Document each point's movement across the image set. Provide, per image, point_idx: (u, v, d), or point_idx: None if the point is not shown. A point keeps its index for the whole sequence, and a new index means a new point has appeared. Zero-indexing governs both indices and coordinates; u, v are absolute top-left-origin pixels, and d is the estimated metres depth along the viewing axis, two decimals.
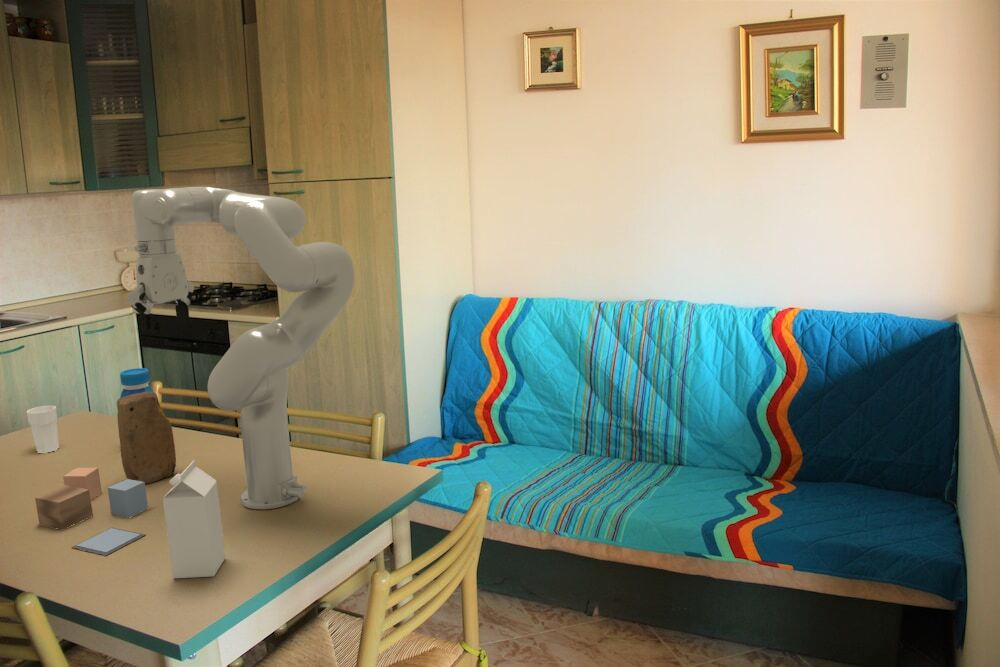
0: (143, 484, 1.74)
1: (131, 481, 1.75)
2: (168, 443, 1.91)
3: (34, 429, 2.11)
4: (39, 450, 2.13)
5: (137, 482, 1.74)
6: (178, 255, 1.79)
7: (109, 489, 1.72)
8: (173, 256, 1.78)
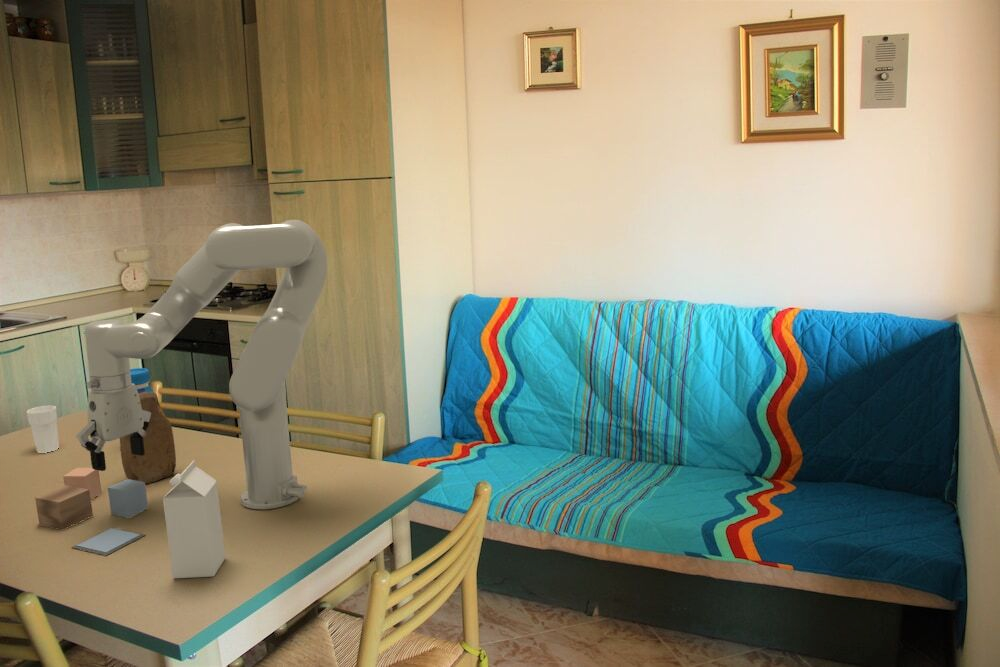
0: (143, 484, 1.74)
1: (131, 481, 1.75)
2: (168, 443, 1.91)
3: (34, 429, 2.11)
4: (39, 450, 2.13)
5: (137, 482, 1.74)
6: (133, 387, 1.71)
7: (109, 489, 1.72)
8: (128, 389, 1.69)
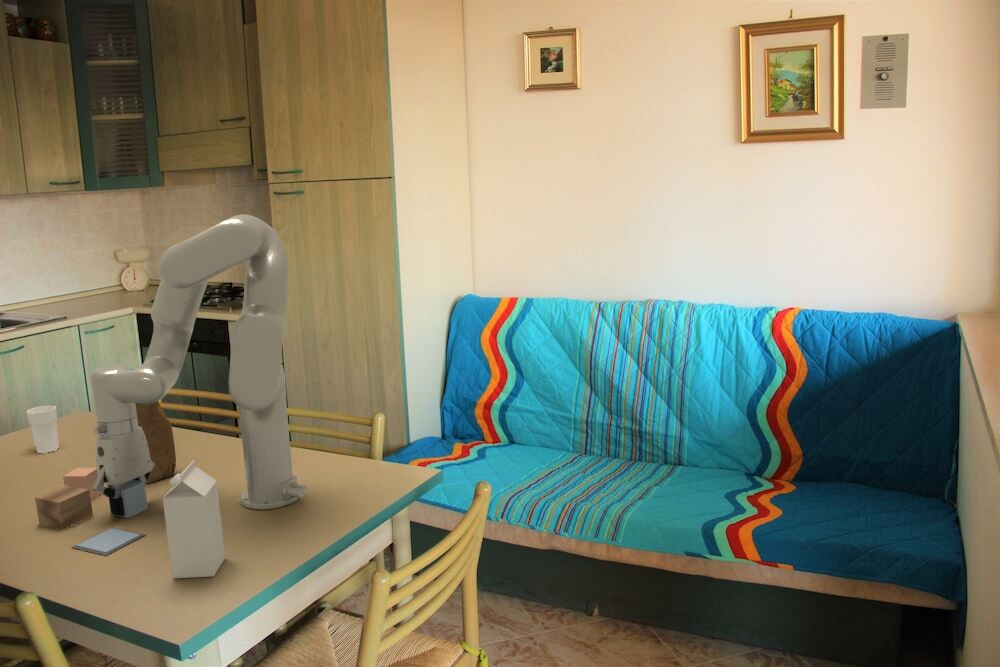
0: (143, 484, 1.74)
1: (131, 481, 1.75)
2: (168, 443, 1.91)
3: (34, 429, 2.11)
4: (39, 450, 2.13)
5: (137, 482, 1.74)
6: (140, 430, 1.73)
7: None
8: (135, 433, 1.71)
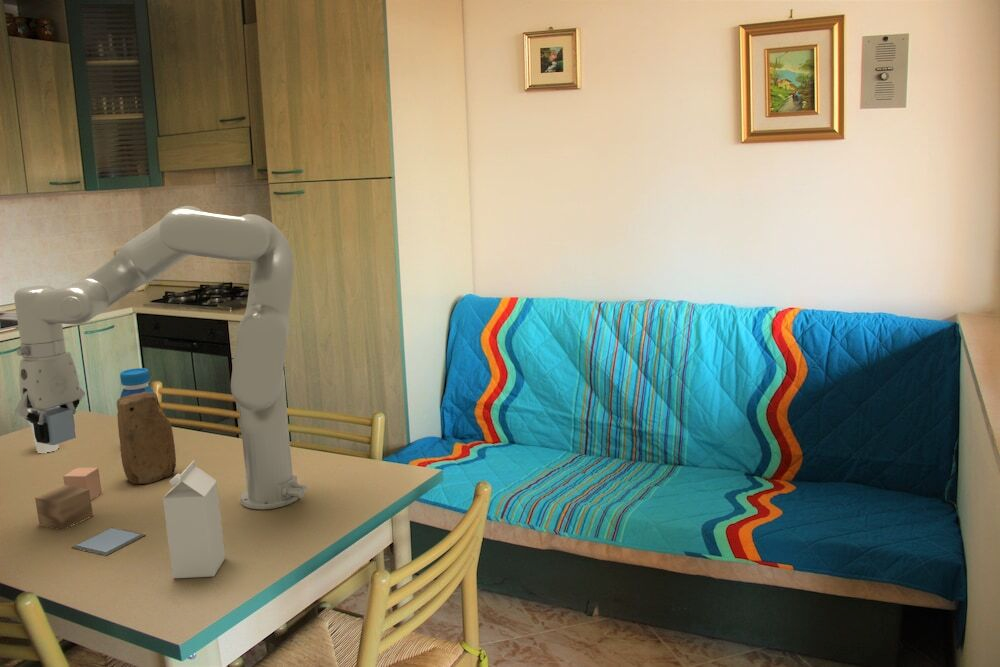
0: (70, 411, 1.68)
1: (58, 408, 1.68)
2: (168, 443, 1.91)
3: None
4: (39, 450, 2.13)
5: (64, 409, 1.68)
6: (68, 355, 1.66)
7: None
8: (61, 357, 1.65)
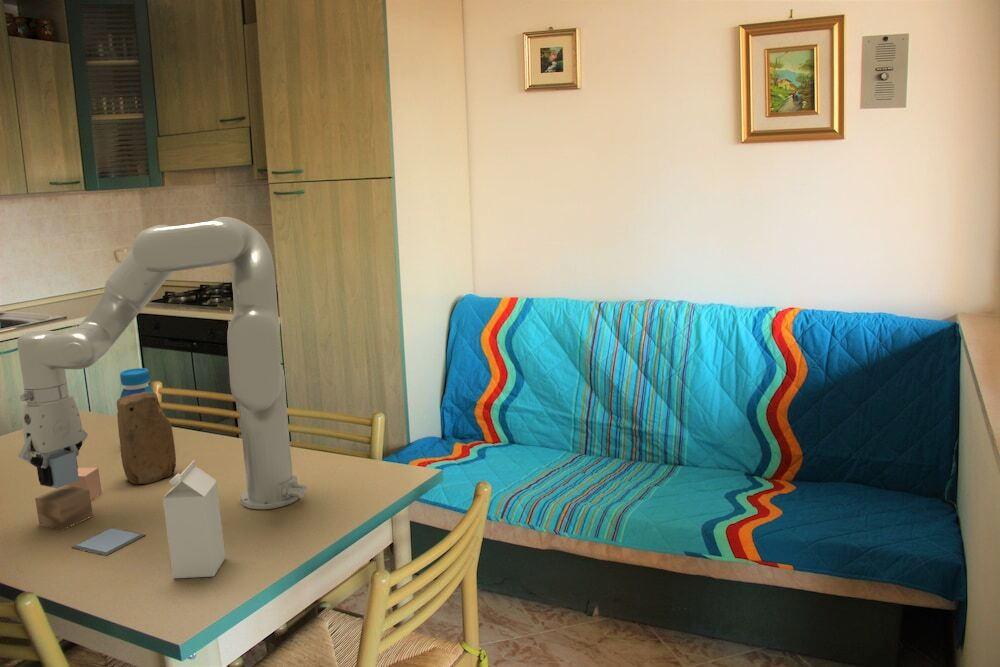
0: (73, 454, 1.69)
1: (61, 451, 1.70)
2: (168, 443, 1.91)
3: None
4: None
5: (67, 452, 1.69)
6: (71, 399, 1.68)
7: None
8: (64, 401, 1.66)
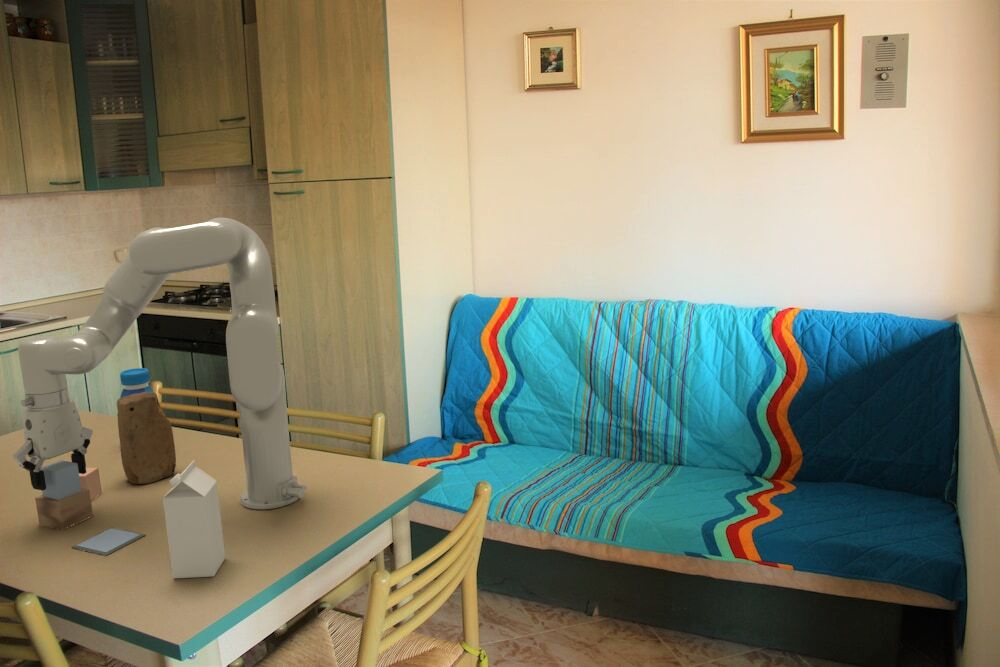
0: (76, 465, 1.70)
1: (64, 462, 1.70)
2: (168, 443, 1.91)
3: None
4: None
5: (70, 463, 1.70)
6: (71, 404, 1.68)
7: None
8: (65, 406, 1.67)
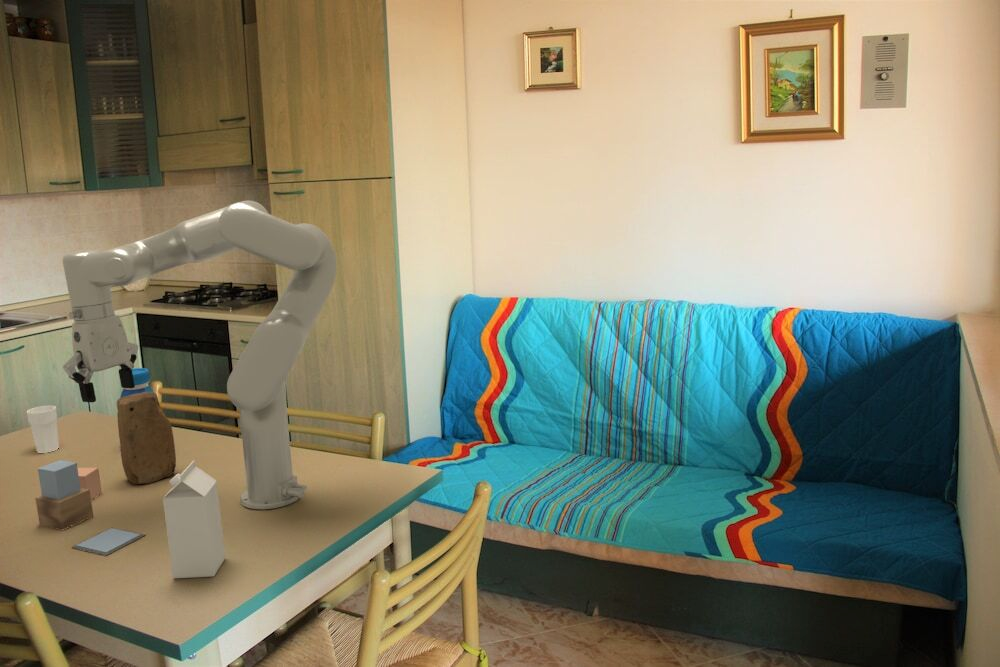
0: (75, 465, 1.70)
1: (63, 462, 1.71)
2: (168, 443, 1.91)
3: (34, 429, 2.11)
4: (39, 450, 2.13)
5: (69, 463, 1.70)
6: (117, 318, 1.69)
7: (39, 470, 1.68)
8: (111, 319, 1.68)
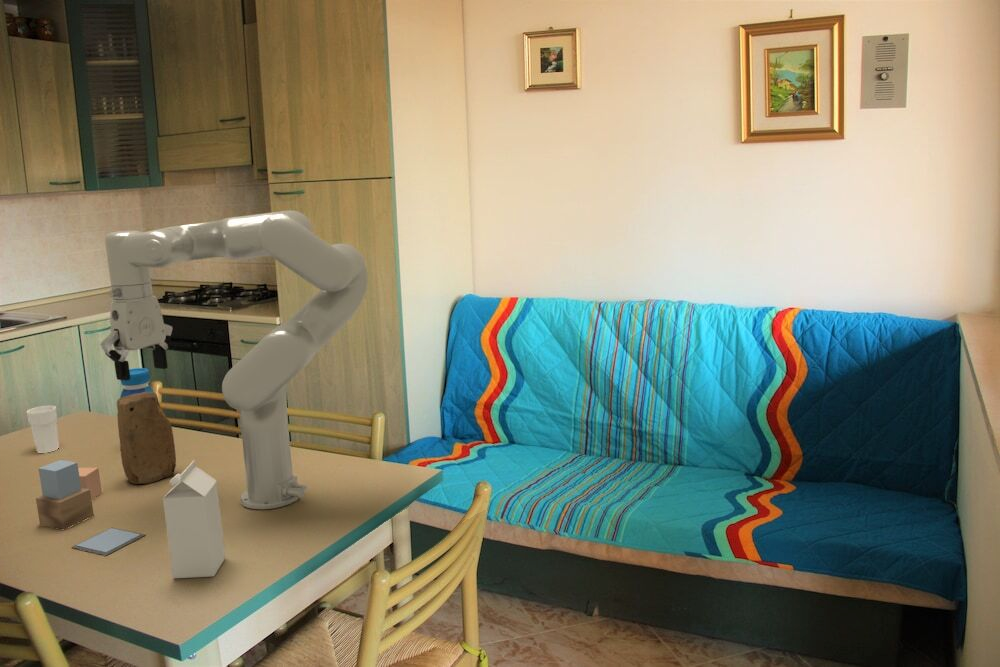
0: (76, 465, 1.70)
1: (64, 462, 1.71)
2: (168, 443, 1.91)
3: (34, 429, 2.11)
4: (39, 450, 2.13)
5: (69, 463, 1.70)
6: (154, 298, 1.72)
7: (40, 470, 1.68)
8: (149, 300, 1.70)
